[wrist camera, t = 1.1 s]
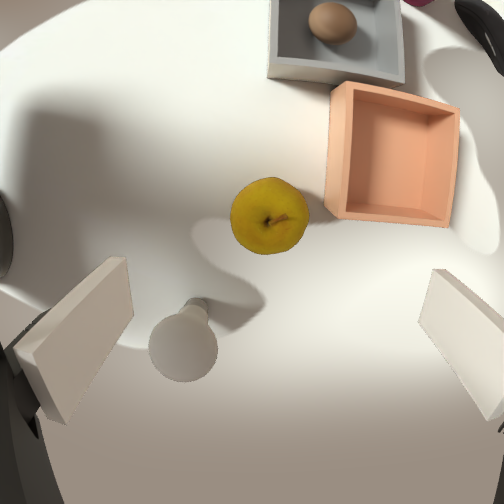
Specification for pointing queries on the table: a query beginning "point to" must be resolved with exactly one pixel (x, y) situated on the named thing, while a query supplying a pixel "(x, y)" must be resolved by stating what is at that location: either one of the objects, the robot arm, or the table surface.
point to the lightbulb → (184, 343)
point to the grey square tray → (337, 56)
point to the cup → (418, 2)
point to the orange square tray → (390, 156)
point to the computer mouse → (484, 28)
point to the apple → (269, 216)
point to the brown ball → (332, 23)
